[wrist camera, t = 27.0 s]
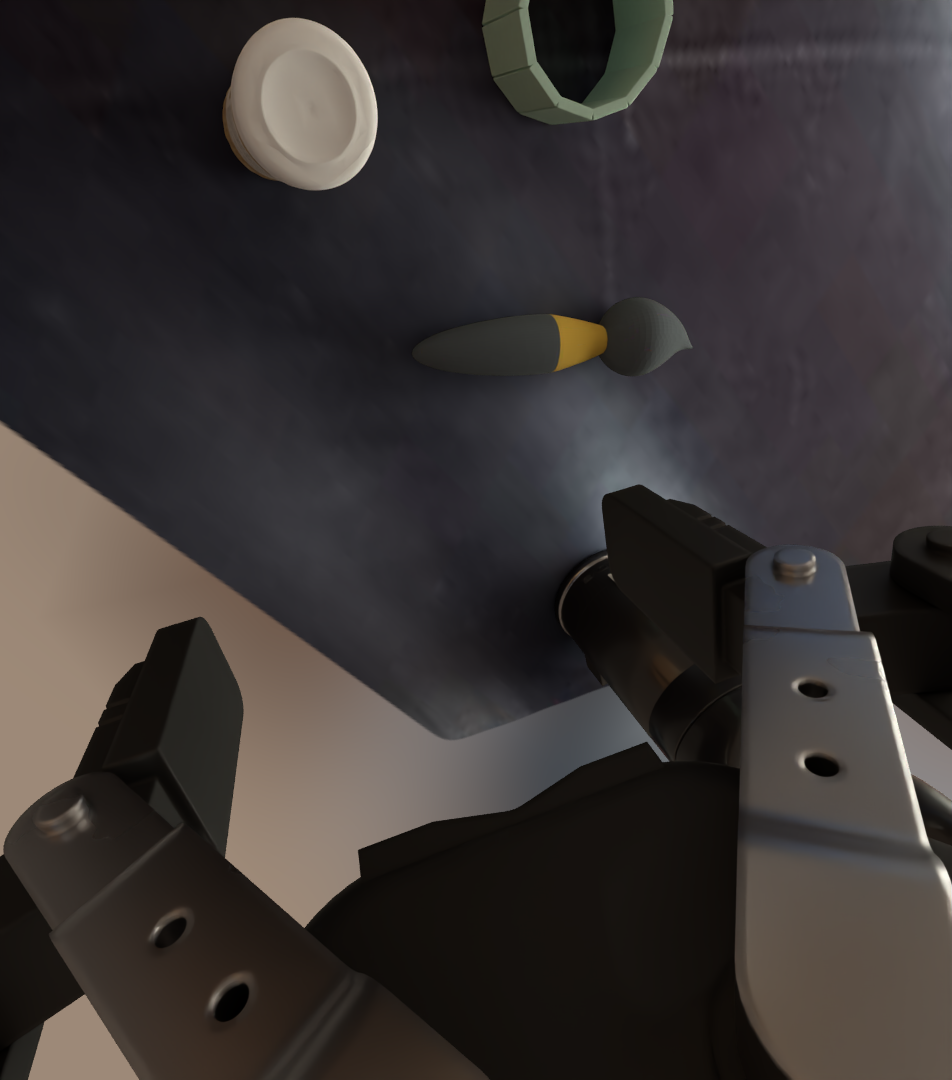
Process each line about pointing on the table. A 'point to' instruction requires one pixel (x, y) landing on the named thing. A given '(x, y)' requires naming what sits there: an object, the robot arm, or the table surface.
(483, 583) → the table surface
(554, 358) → the paintbrush
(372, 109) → the sprinkles bottle
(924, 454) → the table surface
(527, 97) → the bracelet
